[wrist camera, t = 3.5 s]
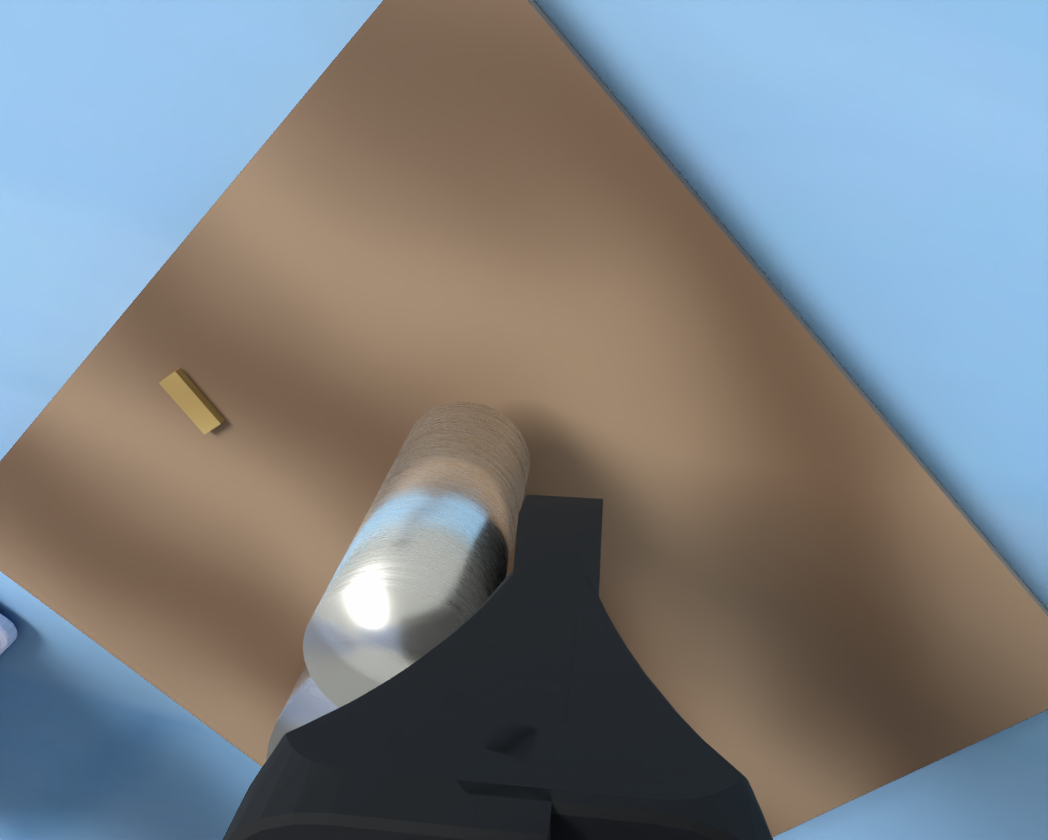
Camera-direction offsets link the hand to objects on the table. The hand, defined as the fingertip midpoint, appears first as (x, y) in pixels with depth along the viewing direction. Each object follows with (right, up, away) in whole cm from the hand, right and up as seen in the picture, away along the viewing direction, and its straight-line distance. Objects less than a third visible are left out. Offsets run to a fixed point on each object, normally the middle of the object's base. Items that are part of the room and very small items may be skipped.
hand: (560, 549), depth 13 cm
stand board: (-1, -2, +7) cm, 7 cm away
